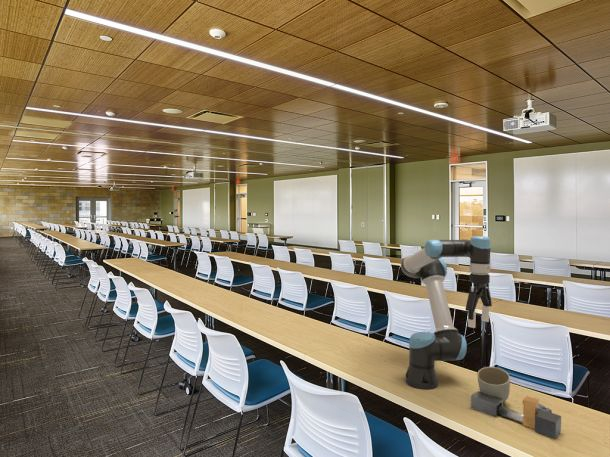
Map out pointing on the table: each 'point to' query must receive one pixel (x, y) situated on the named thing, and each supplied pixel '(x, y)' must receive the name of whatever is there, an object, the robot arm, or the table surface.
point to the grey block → (485, 403)
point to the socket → (548, 424)
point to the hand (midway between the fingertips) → (478, 324)
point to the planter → (494, 382)
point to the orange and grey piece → (528, 412)
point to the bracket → (543, 408)
